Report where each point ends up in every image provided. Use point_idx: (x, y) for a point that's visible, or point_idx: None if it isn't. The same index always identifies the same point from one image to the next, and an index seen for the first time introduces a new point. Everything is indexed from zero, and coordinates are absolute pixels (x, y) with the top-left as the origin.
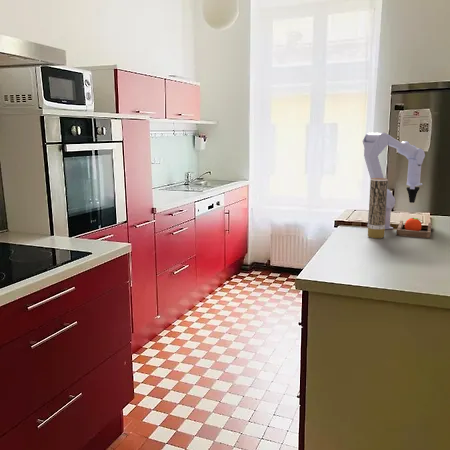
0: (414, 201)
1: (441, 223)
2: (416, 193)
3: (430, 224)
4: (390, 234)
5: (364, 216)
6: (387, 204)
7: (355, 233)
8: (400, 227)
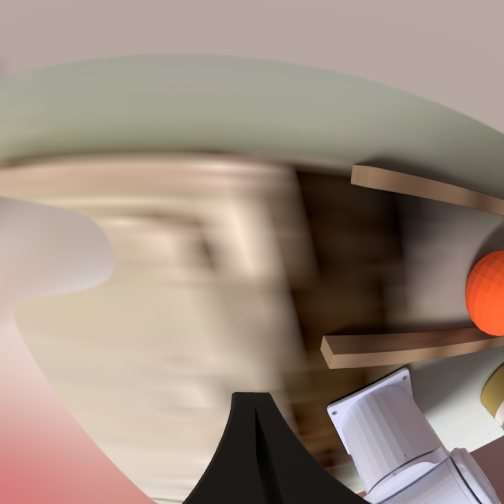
0: (274, 402)
1: (155, 78)
2: (338, 483)
3: (424, 183)
4: (479, 354)
5: (128, 468)
6: (479, 469)
7: (448, 437)
8: (482, 341)
